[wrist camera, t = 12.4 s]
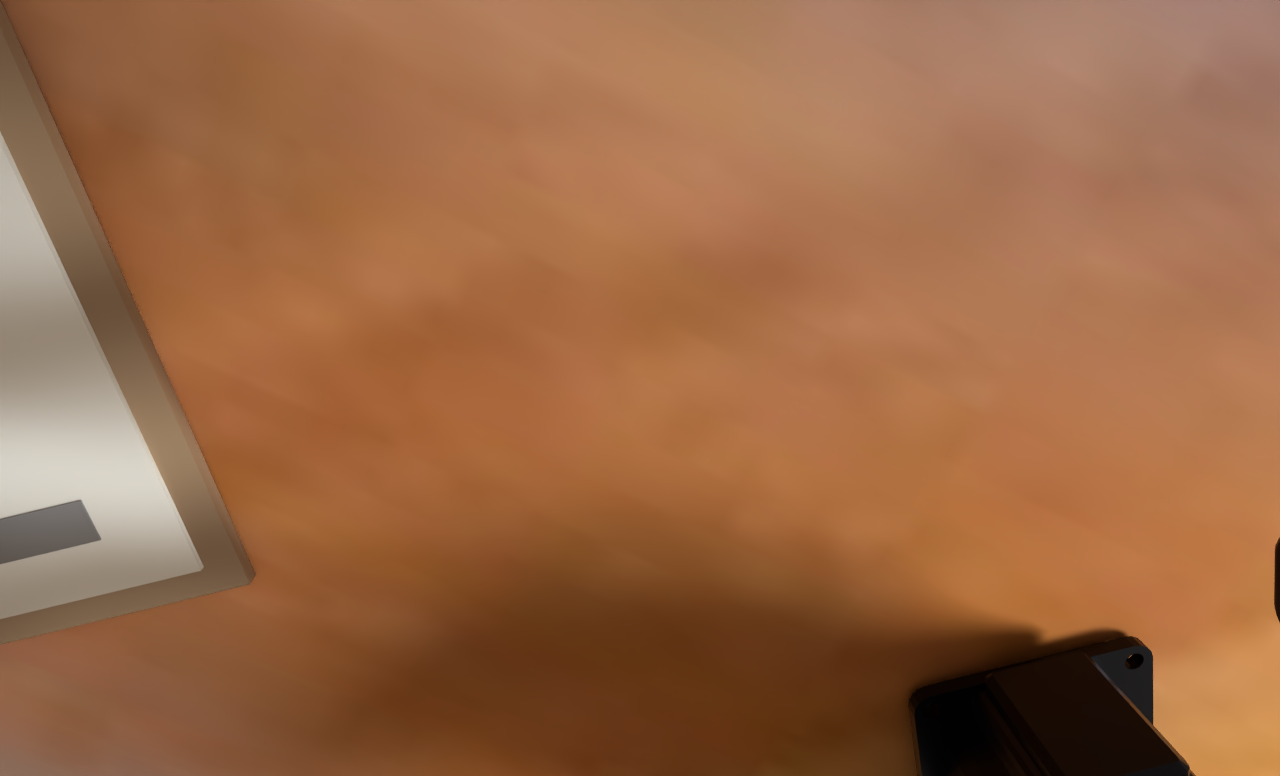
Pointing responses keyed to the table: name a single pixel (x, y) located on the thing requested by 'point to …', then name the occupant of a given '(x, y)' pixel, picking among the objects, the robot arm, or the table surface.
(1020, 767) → the robot arm
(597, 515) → the table surface
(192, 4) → the table surface
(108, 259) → the clipboard
